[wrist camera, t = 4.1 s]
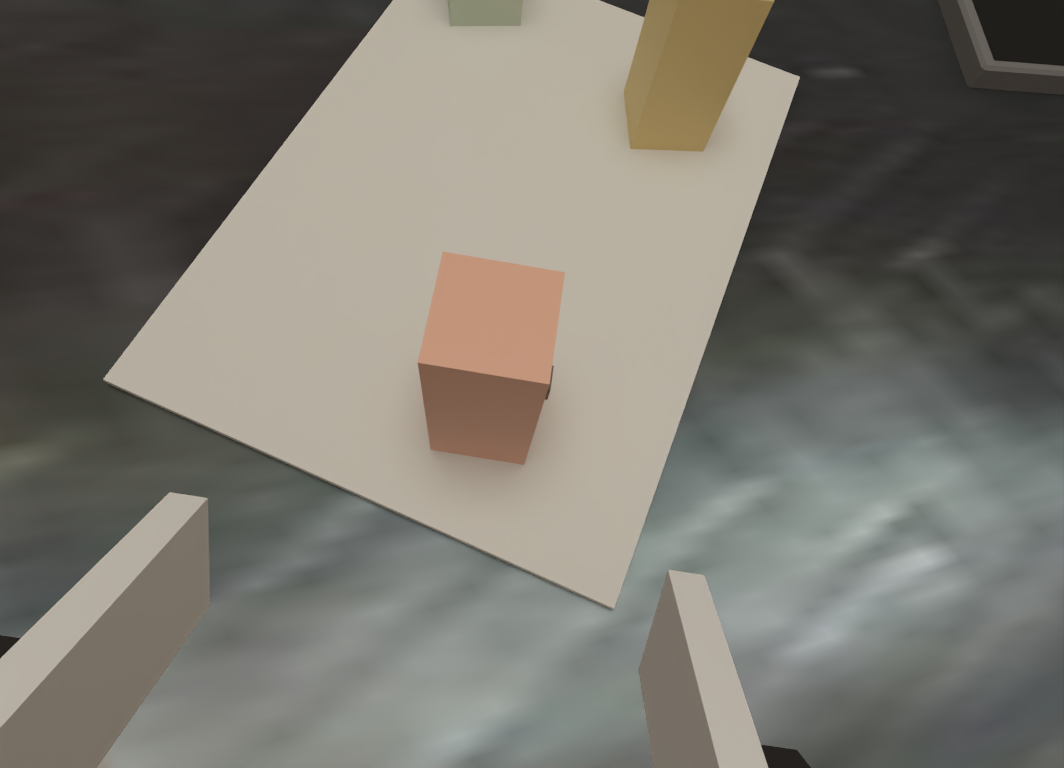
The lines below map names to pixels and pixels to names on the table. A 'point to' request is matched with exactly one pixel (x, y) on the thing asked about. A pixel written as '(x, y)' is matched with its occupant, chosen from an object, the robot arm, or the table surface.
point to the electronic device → (1008, 43)
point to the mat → (479, 231)
